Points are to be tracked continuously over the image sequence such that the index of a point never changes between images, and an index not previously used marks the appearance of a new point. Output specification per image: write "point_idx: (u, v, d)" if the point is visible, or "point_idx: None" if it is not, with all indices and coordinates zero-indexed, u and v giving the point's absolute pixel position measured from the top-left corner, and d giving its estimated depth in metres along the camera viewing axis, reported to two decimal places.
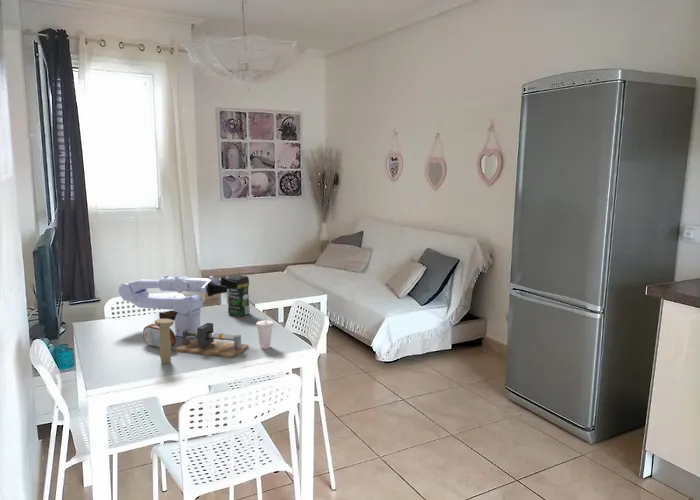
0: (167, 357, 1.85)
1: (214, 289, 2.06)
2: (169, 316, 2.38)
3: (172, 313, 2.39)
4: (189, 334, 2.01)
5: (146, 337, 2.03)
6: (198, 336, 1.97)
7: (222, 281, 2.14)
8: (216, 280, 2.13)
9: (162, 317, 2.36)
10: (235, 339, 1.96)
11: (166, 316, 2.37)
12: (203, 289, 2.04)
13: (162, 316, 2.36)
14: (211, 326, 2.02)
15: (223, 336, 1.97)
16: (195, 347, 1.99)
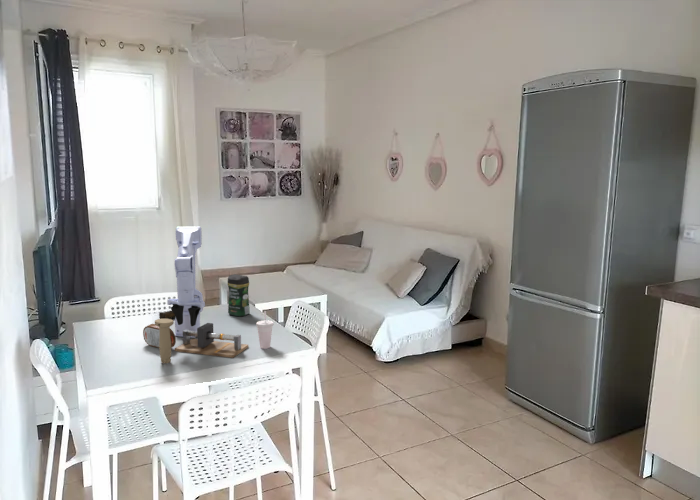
0: (167, 357, 1.85)
1: None
2: (169, 316, 2.38)
3: (172, 313, 2.39)
4: (189, 334, 2.01)
5: (146, 337, 2.03)
6: (198, 336, 1.97)
7: None
8: None
9: (162, 317, 2.36)
10: (235, 339, 1.96)
11: (166, 316, 2.37)
12: None
13: (162, 316, 2.36)
14: (211, 326, 2.02)
15: (223, 336, 1.97)
16: (195, 347, 1.99)
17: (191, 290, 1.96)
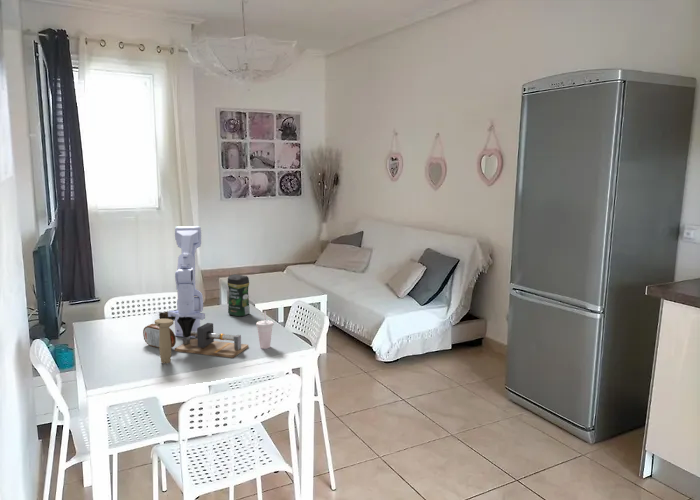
0: (167, 357, 1.85)
1: None
2: None
3: None
4: None
5: (146, 337, 2.03)
6: (198, 336, 1.97)
7: None
8: None
9: (162, 317, 2.36)
10: (235, 339, 1.96)
11: (166, 316, 2.37)
12: None
13: (162, 316, 2.36)
14: (211, 326, 2.02)
15: (223, 336, 1.97)
16: (195, 347, 1.99)
17: (191, 302, 1.96)
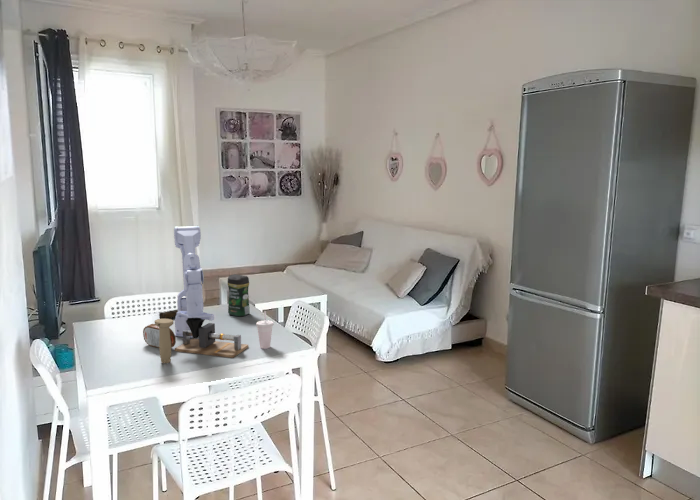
0: (167, 357, 1.85)
1: None
2: (169, 316, 2.38)
3: (172, 313, 2.39)
4: (189, 334, 2.01)
5: (146, 337, 2.03)
6: (200, 336, 1.97)
7: None
8: None
9: (162, 317, 2.36)
10: (235, 339, 1.96)
11: (166, 316, 2.37)
12: None
13: (162, 316, 2.36)
14: (213, 326, 2.02)
15: (223, 336, 1.97)
16: (195, 347, 1.99)
17: (200, 303, 1.95)
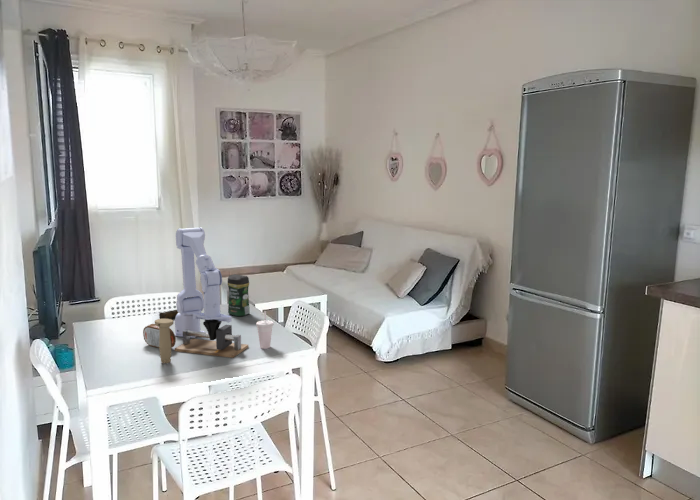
0: (167, 357, 1.85)
1: None
2: (169, 316, 2.38)
3: (172, 313, 2.39)
4: (189, 334, 2.01)
5: (146, 337, 2.03)
6: (217, 338, 1.95)
7: None
8: None
9: (163, 317, 2.36)
10: (235, 339, 1.96)
11: (167, 316, 2.37)
12: None
13: (163, 316, 2.36)
14: (230, 328, 2.00)
15: None
16: (195, 347, 1.99)
17: (218, 304, 1.93)
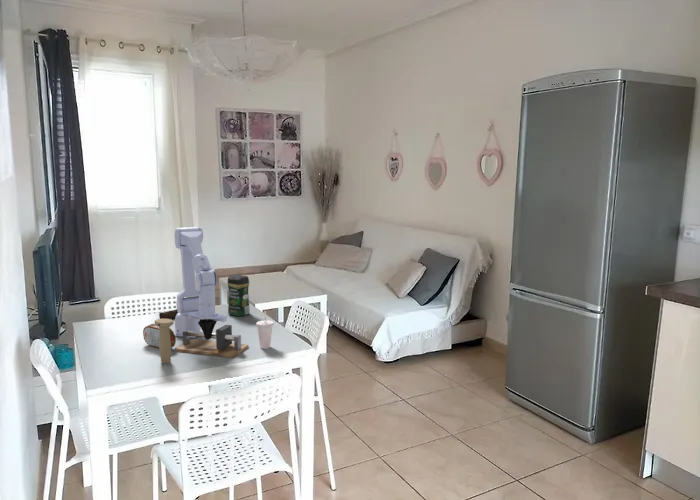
0: (167, 357, 1.85)
1: None
2: (169, 316, 2.38)
3: (172, 313, 2.39)
4: (189, 334, 2.01)
5: (146, 337, 2.03)
6: (217, 338, 1.95)
7: None
8: None
9: (163, 317, 2.36)
10: (235, 339, 1.96)
11: (167, 316, 2.37)
12: None
13: (163, 316, 2.36)
14: (230, 328, 2.00)
15: None
16: (195, 347, 1.99)
17: (213, 304, 1.94)
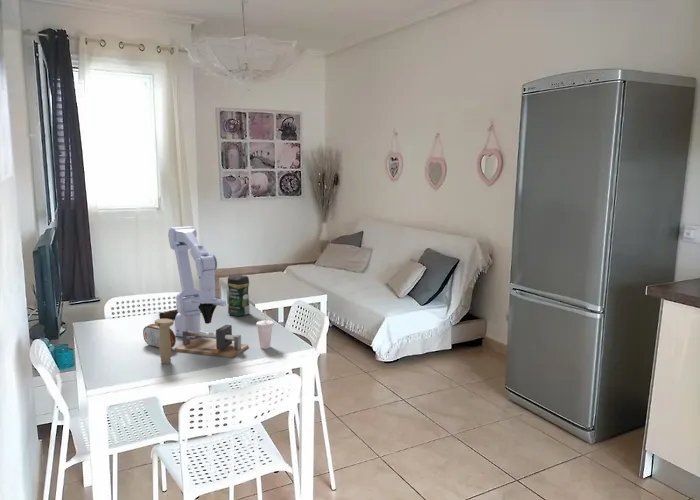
0: (167, 357, 1.85)
1: None
2: (169, 316, 2.38)
3: (172, 313, 2.39)
4: (189, 334, 2.01)
5: (146, 337, 2.03)
6: (217, 338, 1.95)
7: None
8: None
9: (163, 317, 2.36)
10: (235, 339, 1.96)
11: (167, 316, 2.37)
12: None
13: (163, 316, 2.36)
14: (230, 328, 2.00)
15: None
16: (195, 347, 1.99)
17: (213, 289, 1.99)
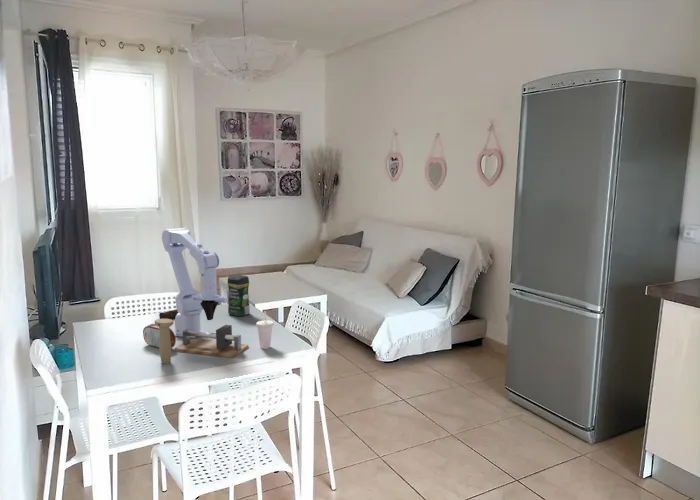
0: (167, 357, 1.85)
1: None
2: (170, 316, 2.38)
3: (172, 313, 2.39)
4: (189, 334, 2.01)
5: (146, 337, 2.03)
6: (217, 338, 1.95)
7: None
8: None
9: (163, 317, 2.36)
10: (235, 339, 1.96)
11: (167, 316, 2.37)
12: None
13: (163, 316, 2.36)
14: (230, 328, 2.00)
15: None
16: (195, 347, 1.99)
17: (214, 286, 2.03)
